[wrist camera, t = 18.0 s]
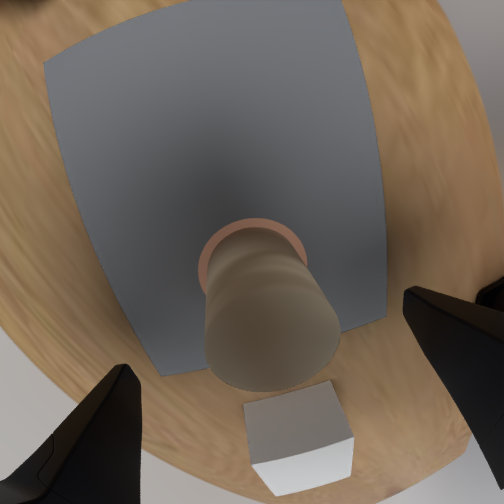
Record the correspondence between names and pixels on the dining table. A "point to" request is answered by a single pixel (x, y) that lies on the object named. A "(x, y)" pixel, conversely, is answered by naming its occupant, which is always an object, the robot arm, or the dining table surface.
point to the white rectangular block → (299, 439)
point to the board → (221, 157)
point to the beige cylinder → (265, 314)
